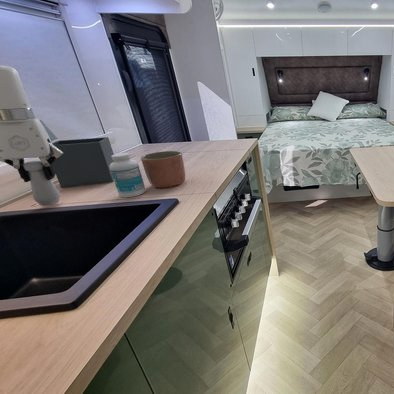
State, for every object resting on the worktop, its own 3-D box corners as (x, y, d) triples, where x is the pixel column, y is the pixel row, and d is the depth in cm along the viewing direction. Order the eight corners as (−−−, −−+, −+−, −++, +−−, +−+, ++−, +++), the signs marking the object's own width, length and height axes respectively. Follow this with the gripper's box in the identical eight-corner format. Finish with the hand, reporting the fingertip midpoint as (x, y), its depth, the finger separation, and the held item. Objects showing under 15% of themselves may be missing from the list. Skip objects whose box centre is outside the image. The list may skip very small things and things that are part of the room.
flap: (43, 144, 97) (42, 144, 97) (57, 138, 106) (56, 139, 106) (24, 123, 93) (23, 123, 93) (41, 119, 103) (39, 120, 102)
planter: (175, 177, 114) (168, 149, 109) (195, 181, 108) (189, 153, 104) (141, 186, 103) (132, 156, 99) (162, 192, 98) (153, 161, 94)
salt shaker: (63, 198, 92) (48, 158, 87) (62, 203, 87) (46, 162, 83) (37, 202, 88) (20, 161, 83) (35, 208, 84) (16, 165, 79)
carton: (61, 188, 103) (44, 146, 97) (73, 179, 112) (58, 140, 106) (112, 181, 109) (99, 142, 103) (120, 174, 118) (108, 137, 112)
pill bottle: (123, 191, 99) (110, 152, 94) (148, 188, 101) (137, 150, 96) (115, 199, 92) (101, 158, 87) (142, 196, 95) (130, 156, 90)
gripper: (-41, 118, 72) (-8, 187, 78) (48, 115, 78) (72, 180, 85) (-21, 115, 78) (8, 179, 85) (60, 113, 85) (81, 173, 91)
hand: (40, 179), depth 85 cm, fingers closed on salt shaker, 4 cm apart
